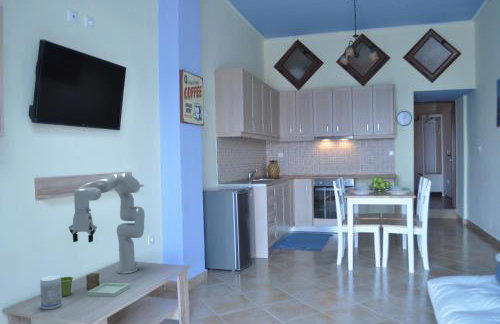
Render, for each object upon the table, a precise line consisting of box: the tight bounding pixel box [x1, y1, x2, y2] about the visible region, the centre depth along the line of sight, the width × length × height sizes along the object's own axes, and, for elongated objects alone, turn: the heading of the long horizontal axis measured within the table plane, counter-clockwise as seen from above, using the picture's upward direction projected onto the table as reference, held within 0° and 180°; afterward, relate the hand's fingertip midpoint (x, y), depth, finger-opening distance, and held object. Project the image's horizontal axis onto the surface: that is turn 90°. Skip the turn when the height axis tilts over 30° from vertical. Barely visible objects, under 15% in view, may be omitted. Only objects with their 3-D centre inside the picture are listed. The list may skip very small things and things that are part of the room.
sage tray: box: [86, 282, 131, 298], centre depth 230 cm, size 16×16×2 cm
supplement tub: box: [39, 274, 63, 310], centre depth 209 cm, size 10×10×15 cm
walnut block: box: [85, 272, 101, 291], centre depth 237 cm, size 5×5×8 cm
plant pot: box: [61, 276, 74, 298], centre depth 227 cm, size 9×9×9 cm
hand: (83, 241), depth 228 cm, fingers open, 9 cm apart
